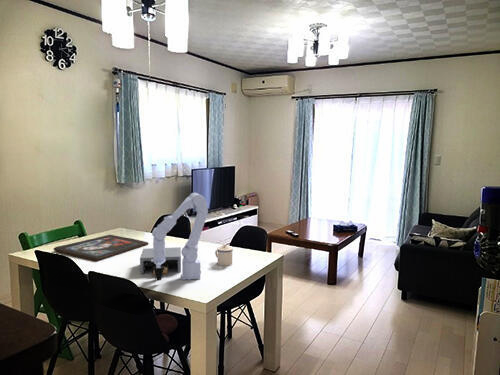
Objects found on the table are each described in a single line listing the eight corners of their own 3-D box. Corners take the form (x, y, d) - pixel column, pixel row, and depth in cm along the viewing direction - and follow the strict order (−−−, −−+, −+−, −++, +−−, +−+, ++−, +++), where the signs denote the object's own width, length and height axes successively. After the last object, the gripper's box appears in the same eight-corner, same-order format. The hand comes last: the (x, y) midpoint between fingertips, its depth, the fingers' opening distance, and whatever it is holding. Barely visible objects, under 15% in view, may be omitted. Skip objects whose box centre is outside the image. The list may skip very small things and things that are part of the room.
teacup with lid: (235, 263, 214) (236, 244, 213) (225, 267, 207) (225, 247, 206) (220, 259, 222) (220, 240, 220) (210, 262, 214) (210, 243, 213)
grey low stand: (180, 261, 216) (180, 247, 215) (180, 272, 198) (180, 256, 197) (143, 263, 212) (143, 248, 211) (140, 274, 194) (140, 258, 193)
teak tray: (168, 265, 208) (168, 256, 207) (167, 275, 192) (167, 265, 192) (155, 266, 207) (155, 256, 206) (153, 276, 191) (153, 266, 190)
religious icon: (51, 252, 231) (51, 247, 230) (108, 237, 270) (108, 233, 270) (95, 263, 212) (95, 258, 212) (149, 245, 252) (149, 241, 252)
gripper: (152, 247, 189) (152, 272, 191) (149, 255, 175) (150, 283, 177) (166, 247, 191) (166, 272, 192) (164, 255, 177) (165, 282, 178)
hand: (159, 277), depth 185 cm, fingers open, 7 cm apart
